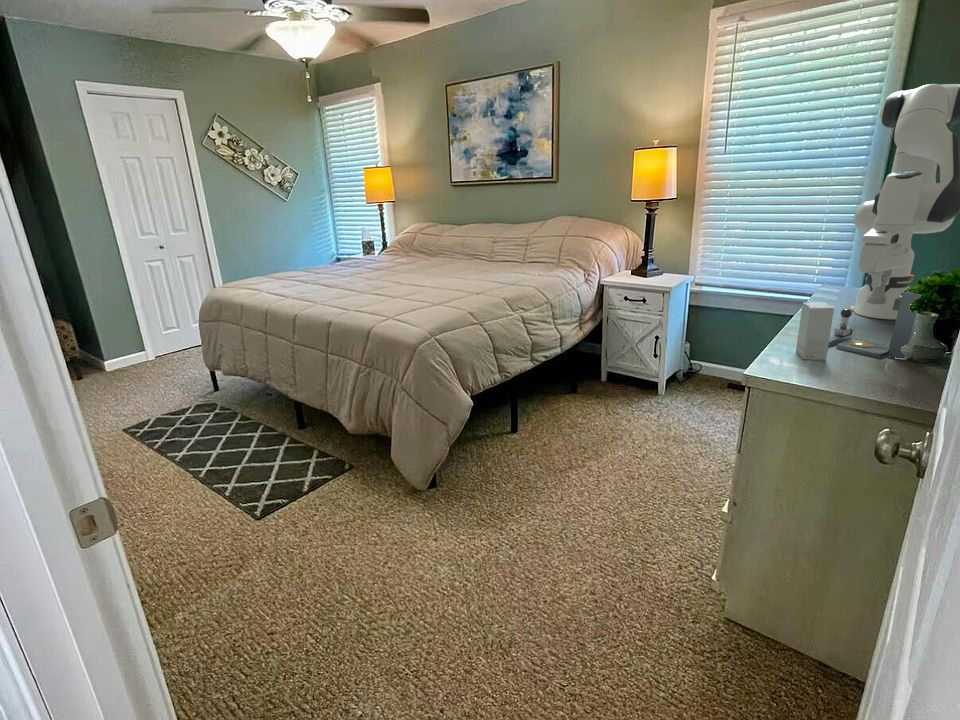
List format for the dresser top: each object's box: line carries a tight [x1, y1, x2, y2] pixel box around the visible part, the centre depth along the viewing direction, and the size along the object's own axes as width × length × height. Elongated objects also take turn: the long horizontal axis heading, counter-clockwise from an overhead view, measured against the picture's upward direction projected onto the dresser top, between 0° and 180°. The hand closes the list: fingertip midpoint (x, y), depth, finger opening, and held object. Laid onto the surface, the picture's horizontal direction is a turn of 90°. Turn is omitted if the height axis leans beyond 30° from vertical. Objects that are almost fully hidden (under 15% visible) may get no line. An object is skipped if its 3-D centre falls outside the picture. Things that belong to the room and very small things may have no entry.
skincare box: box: [795, 301, 835, 362], centre depth 141 cm, size 8×6×15 cm
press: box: [828, 291, 922, 359], centre depth 143 cm, size 15×20×18 cm
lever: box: [833, 308, 853, 336], centre depth 153 cm, size 4×3×8 cm
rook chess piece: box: [867, 274, 889, 304], centre depth 141 cm, size 4×4×8 cm
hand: (879, 286), depth 141 cm, fingers closed on rook chess piece, 3 cm apart
